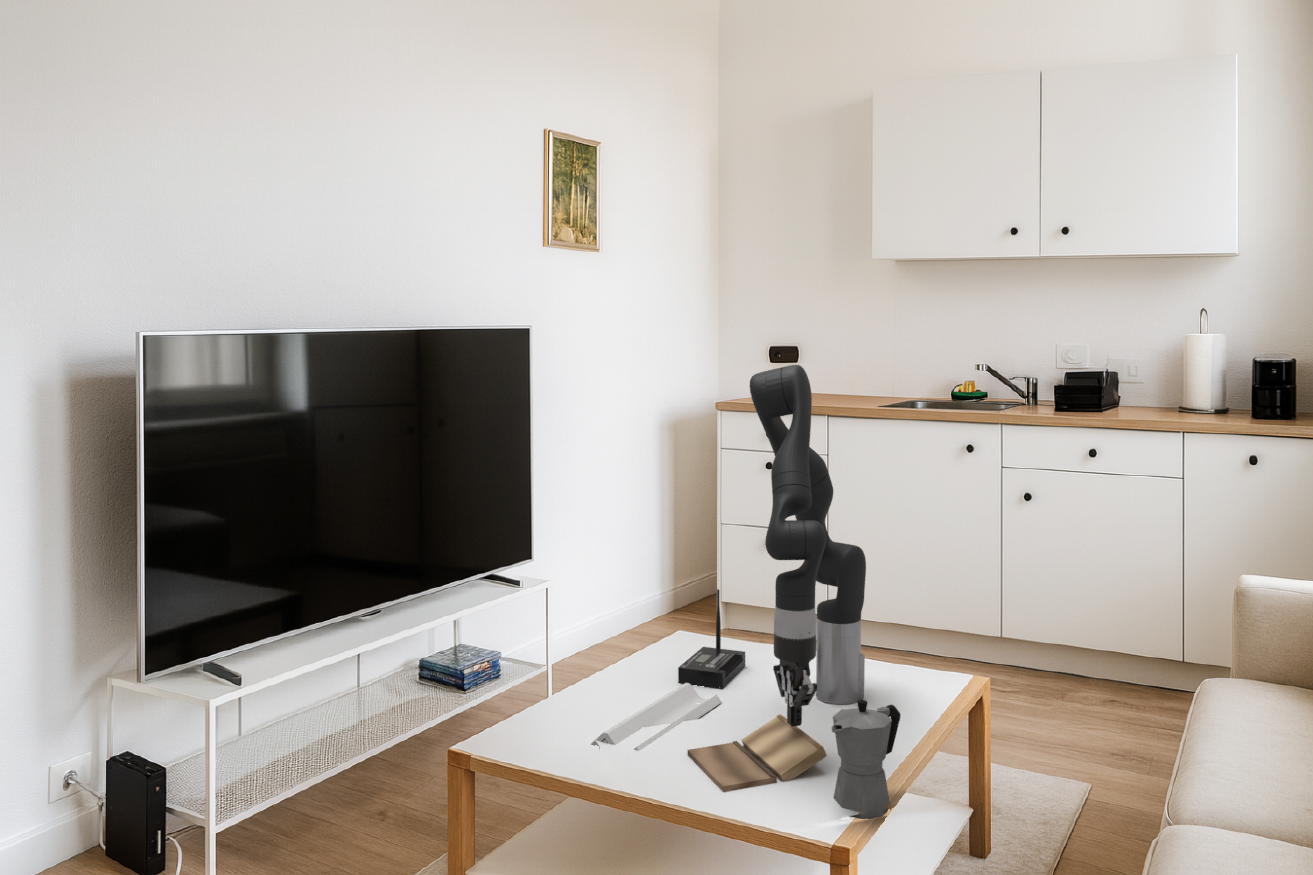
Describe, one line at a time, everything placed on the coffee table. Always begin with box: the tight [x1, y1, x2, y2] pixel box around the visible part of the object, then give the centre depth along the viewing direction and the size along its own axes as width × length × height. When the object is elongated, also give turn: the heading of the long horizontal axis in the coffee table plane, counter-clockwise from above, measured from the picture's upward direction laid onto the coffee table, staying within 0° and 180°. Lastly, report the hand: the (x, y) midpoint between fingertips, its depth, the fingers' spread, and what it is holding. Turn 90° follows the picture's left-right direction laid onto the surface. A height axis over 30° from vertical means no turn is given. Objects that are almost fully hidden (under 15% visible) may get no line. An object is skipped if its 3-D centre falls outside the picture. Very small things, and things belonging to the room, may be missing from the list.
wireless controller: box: [677, 588, 746, 690], centre depth 232 cm, size 20×14×17 cm
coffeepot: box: [831, 699, 901, 820], centre depth 166 cm, size 15×9×18 cm, turn 125°
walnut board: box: [687, 740, 778, 793], centre depth 179 cm, size 10×16×2 cm, turn 20°
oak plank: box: [740, 713, 828, 782], centre depth 182 cm, size 16×9×2 cm, turn 20°
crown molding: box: [590, 683, 723, 752], centre depth 203 cm, size 31×12×4 cm, turn 148°
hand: (794, 724), depth 183 cm, fingers closed
